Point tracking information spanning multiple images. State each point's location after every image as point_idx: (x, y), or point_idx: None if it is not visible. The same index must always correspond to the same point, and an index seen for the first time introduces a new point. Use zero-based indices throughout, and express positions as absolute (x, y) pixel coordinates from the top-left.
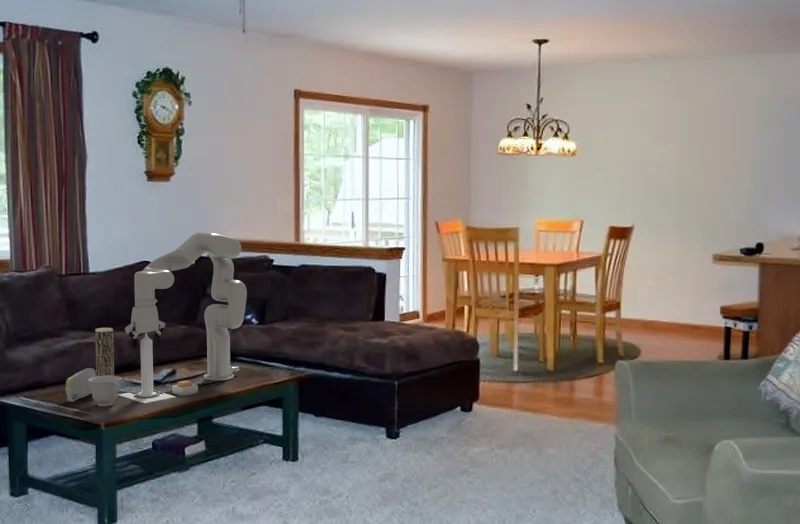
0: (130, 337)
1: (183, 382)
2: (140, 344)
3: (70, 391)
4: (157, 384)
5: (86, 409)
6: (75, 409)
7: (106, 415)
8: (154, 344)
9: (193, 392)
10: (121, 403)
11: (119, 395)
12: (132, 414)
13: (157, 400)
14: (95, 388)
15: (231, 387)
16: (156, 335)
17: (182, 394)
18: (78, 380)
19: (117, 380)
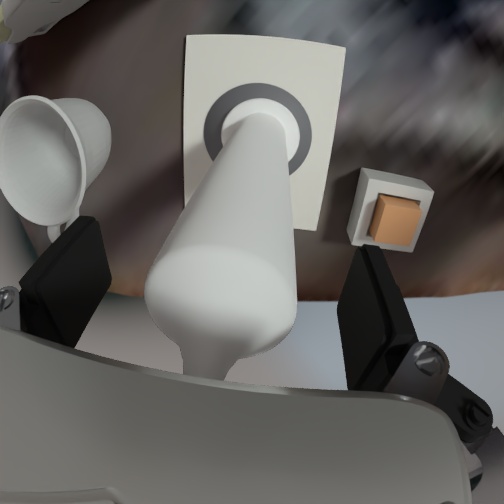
0: (3, 297)
1: (387, 229)
2: (161, 248)
3: (14, 42)
4: (427, 16)
5: None
6: None
7: None
8: (353, 259)
9: None
10: (133, 154)
11: (186, 46)
12: (111, 276)
13: None
14: (20, 172)
15: (486, 260)
16: (366, 376)
17: (347, 231)
18: (19, 18)
19: (61, 223)
